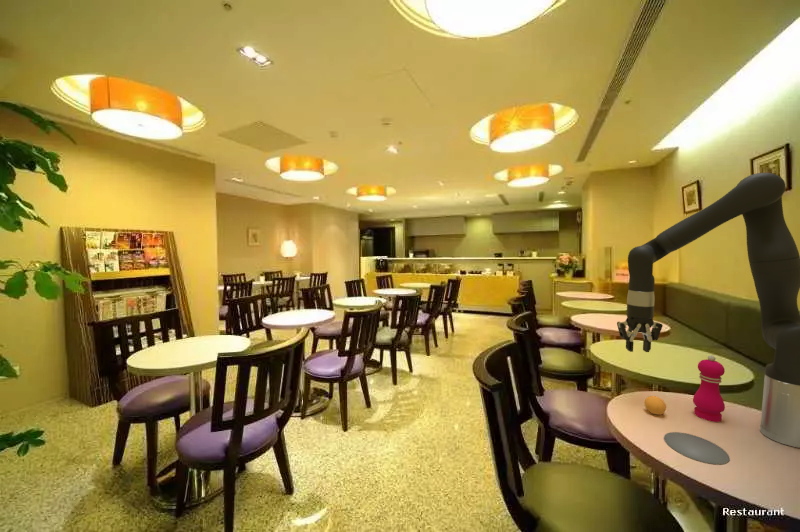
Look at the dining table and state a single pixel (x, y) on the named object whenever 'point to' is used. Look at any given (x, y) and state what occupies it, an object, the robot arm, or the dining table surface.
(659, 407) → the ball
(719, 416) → the pepper mill
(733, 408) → the dining table surface
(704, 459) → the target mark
